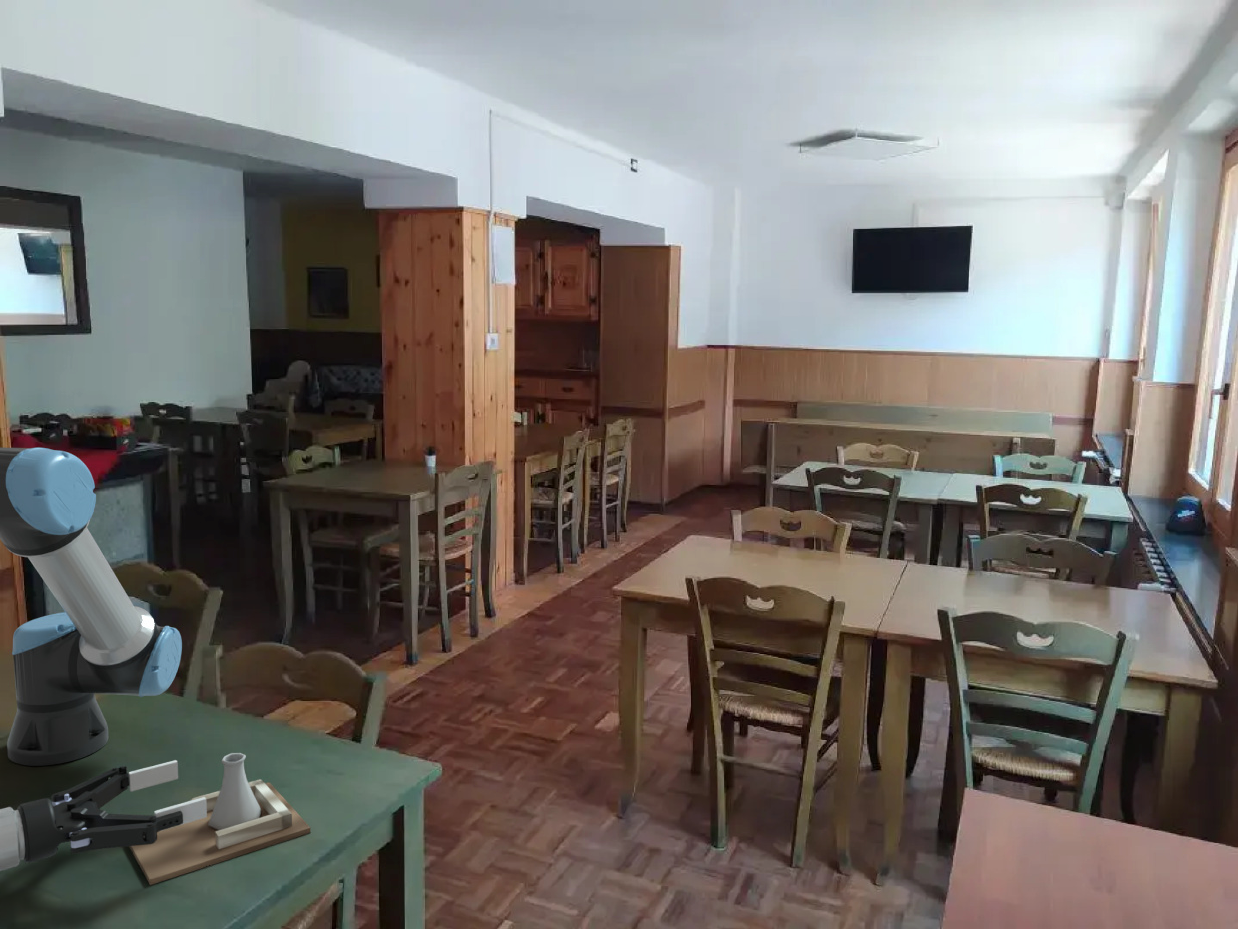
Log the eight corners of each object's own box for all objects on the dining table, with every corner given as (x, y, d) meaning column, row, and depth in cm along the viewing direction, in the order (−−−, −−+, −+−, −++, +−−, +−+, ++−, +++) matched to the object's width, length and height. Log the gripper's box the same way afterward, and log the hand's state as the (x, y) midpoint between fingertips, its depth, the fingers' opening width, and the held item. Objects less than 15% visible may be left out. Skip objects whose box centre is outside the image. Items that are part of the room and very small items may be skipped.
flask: (242, 836, 137) (241, 772, 136) (198, 829, 139) (196, 765, 137) (270, 811, 144) (269, 750, 143) (228, 805, 146) (226, 744, 144)
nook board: (119, 830, 139) (119, 812, 139) (269, 787, 153) (269, 770, 153) (150, 885, 126) (149, 866, 126) (310, 832, 140) (310, 815, 140)
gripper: (5, 821, 133) (167, 778, 146) (38, 909, 114) (219, 850, 128) (2, 771, 131) (165, 732, 145) (34, 851, 113) (218, 798, 126)
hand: (191, 787), depth 136 cm, fingers open, 13 cm apart
